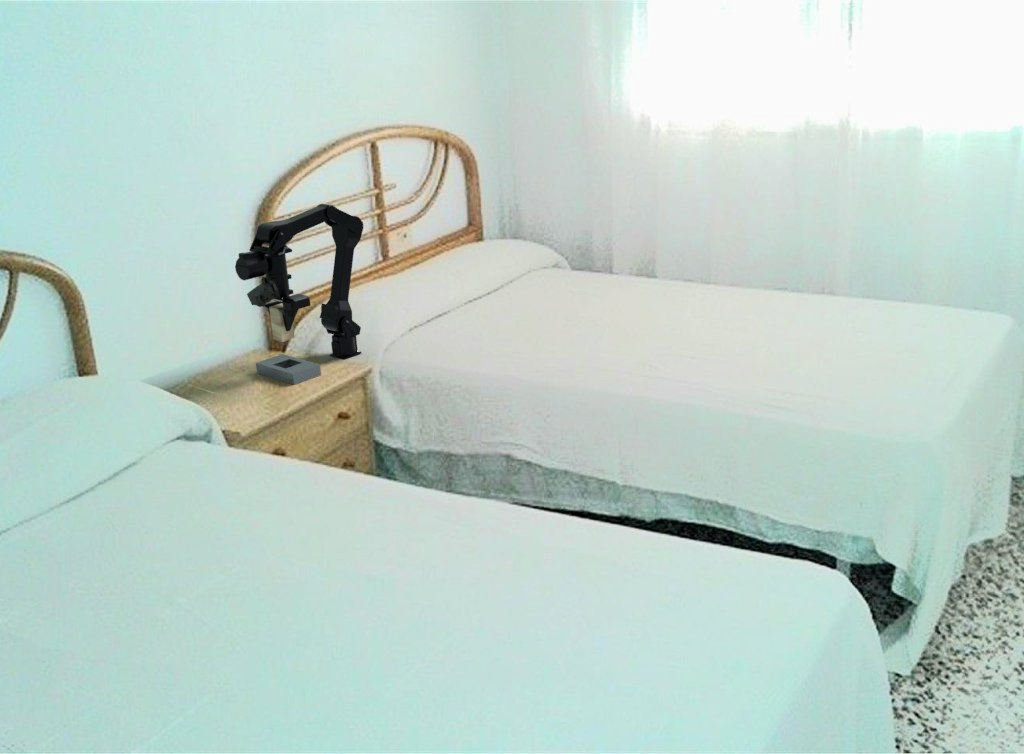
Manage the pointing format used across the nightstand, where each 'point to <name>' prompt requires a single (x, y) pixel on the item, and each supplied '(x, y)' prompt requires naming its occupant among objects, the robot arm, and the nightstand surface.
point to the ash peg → (279, 325)
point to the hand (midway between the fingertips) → (283, 329)
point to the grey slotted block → (288, 369)
